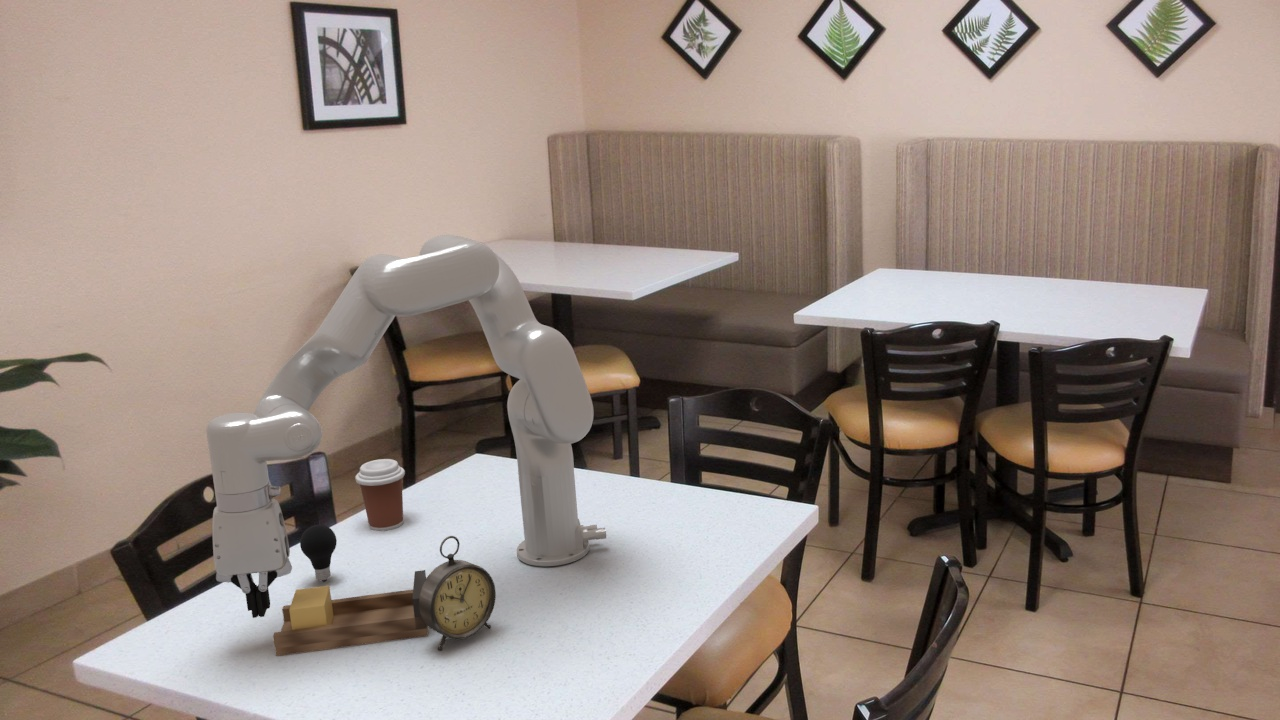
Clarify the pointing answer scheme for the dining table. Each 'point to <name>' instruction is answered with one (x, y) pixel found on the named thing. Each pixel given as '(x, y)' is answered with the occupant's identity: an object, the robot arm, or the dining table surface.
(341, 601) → the wooden tray
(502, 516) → the dining table surface
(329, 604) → the block
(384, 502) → the coffee cup
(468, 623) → the alarm clock
